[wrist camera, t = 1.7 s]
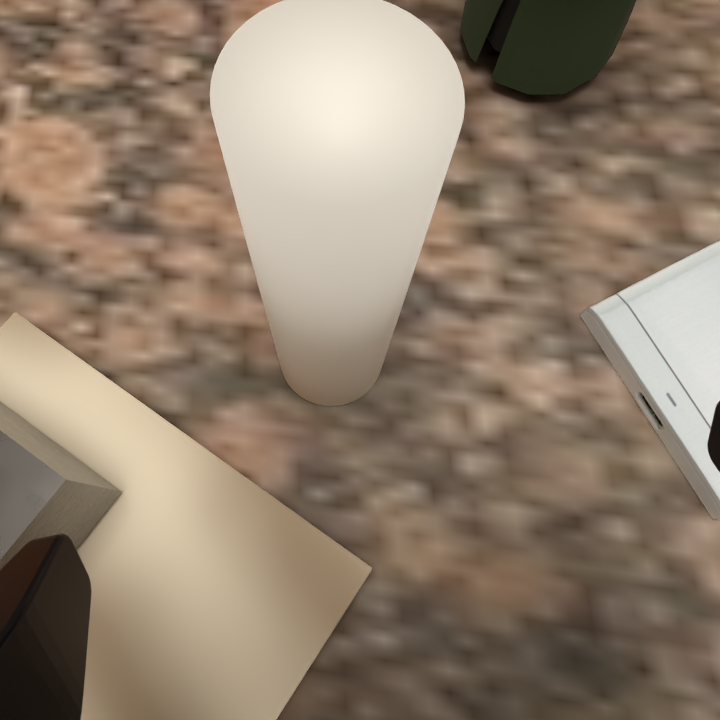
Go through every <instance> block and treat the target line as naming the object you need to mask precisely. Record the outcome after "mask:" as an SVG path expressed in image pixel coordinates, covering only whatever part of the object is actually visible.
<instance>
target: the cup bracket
mask: <svg viewBox="0 0 720 720" xmlns="http://www.w3.org/2000/svg"><path fill="white" fill-rule="evenodd" d="M121 492H122V491H120V490H119V489H118V488H116V487H115V486H114V485H112V484H111V483H110V482H108V481H107V480H105V479H104V478H103V477H101V476H100V475H99V474H97V473H96V472H95V471H93V470H92V469H91V468H89V467H88V466H87V465H85V464H84V463H83V462H81V461H80V460H79V459H77V458H76V457H74V456H73V455H72V454H70V453H69V452H68V451H66V450H65V449H64V448H62V447H61V446H60V445H58V444H57V443H56V442H54V441H53V440H52V439H50V438H49V437H48V436H46V435H45V434H43V433H42V432H41V431H39V430H38V429H37V428H35V427H34V426H33V425H31V424H30V423H29V422H27V421H26V420H25V419H23V418H22V417H21V416H19V415H18V414H17V413H15V412H14V411H12V410H11V409H10V408H8V407H7V406H6V405H4V404H3V403H2V402H0V569H1V568H2V567H3V566H4V565H5V564H6V563H7V562H8V561H9V560H10V559H11V558H12V557H13V556H14V555H15V554H16V553H17V552H18V551H19V550H20V549H21V548H22V547H23V546H24V545H25V544H27V543H28V542H29V541H30V540H32V539H35V538H38V537H43V536H48V535H53V534H58V533H64V534H67V535H68V536H69V537H70V538H71V540H72V541H73V544H74V546H75V548H76V549H77V548H78V546H79V545H80V544H81V543H82V541H83V540H84V539H85V537H86V536H87V535H88V534H89V532H90V531H91V530H92V529H93V527H94V526H95V525H96V524H97V522H98V521H99V520H100V518H101V517H102V516H103V515H104V513H105V512H106V511H107V510H108V508H109V507H110V506H111V505H112V503H113V502H114V501H115V500H116V498H117V497H118V496H119V494H120V493H121Z"/></svg>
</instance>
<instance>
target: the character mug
mask: <svg viewBox="0 0 720 720" xmlns="http://www.w3.org/2000/svg"><path fill="white" fill-rule="evenodd" d="M635 2H636V0H466V2H465V7H464V13H463V19H462V25H461V34H462V37H463V40H464V42H465V45H466V48H467V51H468V54H469V57H470V58H471V59H472V60H474V61H475V62H476V61H477V59H478V56H479V54H480V52H481V49H482V47H483V44H484V42H485V40H486V37H487V38H488V39H489V41H490V43H491V44H492V46H493V48H494V49H495V50H497V51H498V52H500V55H499V58H498V61H497V63H496V66H495V69H494V71H493V74H492V78H493V79H494V80H495V81H496V82H497V83H498V84H501V85H504V86H507V87H509V88H512V89H515V90H517V91H520V92H523V93H526V94H528V95H542V94H565V93H567V92H569V91H571V90H572V89H574V88H576V87H578V86H580V85H581V84H583V83H585V82H587V81H589V80H590V79H592V78H594V77H596V75H597V74H598V73H599V71H600V70H601V69H602V67H603V66H604V65H605V63H606V62H607V61H608V59H609V58H610V57H611V55H612V54H613V52H614V50H615V48H616V45H617V43H618V41H619V39H620V37H621V35H622V32H623V30H624V28H625V26H626V24H627V21H628V19H629V17H630V15H631V12H632V10H633V7H634V5H635Z"/></svg>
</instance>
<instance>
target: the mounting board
mask: <svg viewBox="0 0 720 720" xmlns="http://www.w3.org/2000/svg"><path fill="white" fill-rule="evenodd" d="M0 402H2V403H3V404H4V405H6V406H7V407H8V408H10V409H11V410H12V411H14V412H15V413H17V414H18V415H19V416H21V417H22V418H23V419H25V420H26V421H27V422H29V423H30V424H31V425H33V426H34V427H35V428H37V429H38V430H39V431H41V432H42V433H43V434H45V435H46V436H48V437H49V438H50V439H52V440H53V441H54V442H56V443H57V444H58V445H60V446H61V447H62V448H64V449H65V450H66V451H68V452H69V453H70V454H72V455H73V456H74V457H76V458H77V459H79V460H80V461H81V462H83V463H84V464H85V465H87V466H88V467H89V468H91V469H92V470H93V471H95V472H96V473H97V474H99V475H100V476H101V477H103V478H104V479H105V480H107V481H108V482H110V483H111V484H112V485H114V486H115V487H116V488H118V489H119V490H120V491H122V492H121V493H120V494H119V496H118V497H117V498H116V500H115V501H114V502H113V503H112V505H111V506H110V507H109V508H108V510H107V511H106V512H105V513H104V515H103V516H102V517H101V518H100V520H99V521H98V522H97V524H96V525H95V526H94V527H93V529H92V530H91V531H90V532H89V534H88V535H87V536H86V537H85V539H84V540H83V541H82V543H81V544H80V545H79V546H78V548H77V549H76V550H77V552H78V554H79V556H80V558H81V560H82V562H83V564H84V567H85V569H86V571H87V573H88V575H89V578H90V582H91V591H92V594H91V608H90V621H89V633H88V646H87V658H86V671H85V684H84V696H83V705H82V714H81V720H276V719H277V718H278V716H279V715H280V713H281V711H282V710H283V708H284V707H285V705H286V704H287V702H288V700H289V699H290V697H291V696H292V694H293V693H294V691H295V689H296V688H297V686H298V685H299V683H300V682H301V680H302V678H303V677H304V675H305V674H306V672H307V671H308V669H309V668H310V666H311V664H312V663H313V661H314V660H315V658H316V657H317V655H318V653H319V652H320V650H321V649H322V647H323V646H324V644H325V642H326V641H327V639H328V638H329V636H330V635H331V633H332V631H333V630H334V628H335V627H336V625H337V624H338V622H339V620H340V619H341V617H342V616H343V614H344V613H345V611H346V609H347V608H348V606H349V605H350V603H351V602H352V600H353V598H354V597H355V595H356V594H357V592H358V591H359V589H360V588H361V586H362V584H363V583H364V581H365V580H366V578H367V577H368V575H369V573H370V572H371V570H372V569H373V568H372V567H370V566H369V565H367V564H366V563H365V562H363V561H362V560H360V559H359V558H358V557H356V556H355V555H353V554H352V553H351V552H349V551H348V550H346V549H345V548H344V547H342V546H341V545H339V544H338V543H337V542H335V541H334V540H332V539H331V538H330V537H328V536H327V535H325V534H324V533H323V532H321V531H320V530H319V529H317V528H316V527H314V526H313V525H312V524H310V523H309V522H307V521H306V520H305V519H303V518H302V517H300V516H299V515H298V514H296V513H295V512H293V511H292V510H291V509H289V508H288V507H286V506H285V505H284V504H282V503H281V502H279V501H278V500H277V499H275V498H274V497H272V496H271V495H270V494H268V493H267V492H266V491H264V490H263V489H261V488H260V487H259V486H257V485H256V484H254V483H253V482H252V481H250V480H249V479H247V478H246V477H245V476H243V475H242V474H240V473H239V472H238V471H236V470H235V469H233V468H232V467H231V466H229V465H228V464H226V463H225V462H224V461H222V460H221V459H219V458H218V457H217V456H215V455H214V454H213V453H211V452H210V451H208V450H207V449H206V448H204V447H203V446H201V445H200V444H199V443H197V442H196V441H194V440H193V439H192V438H190V437H189V436H187V435H186V434H185V433H183V432H182V431H180V430H179V429H178V428H176V427H175V426H173V425H172V424H171V423H169V422H168V421H166V420H165V419H164V418H162V417H161V416H160V415H158V414H157V413H155V412H154V411H153V410H151V409H150V408H148V407H147V406H146V405H144V404H143V403H141V402H140V401H139V400H137V399H136V398H134V397H133V396H132V395H130V394H129V393H127V392H126V391H125V390H123V389H122V388H120V387H119V386H118V385H116V384H115V383H113V382H112V381H111V380H109V379H108V378H106V377H105V376H104V375H102V374H101V373H100V372H98V371H97V370H95V369H94V368H93V367H91V366H90V365H88V364H87V363H86V362H84V361H83V360H81V359H80V358H79V357H77V356H76V355H74V354H73V353H72V352H70V351H69V350H67V349H66V348H65V347H63V346H62V345H60V344H59V343H58V342H56V341H55V340H53V339H52V338H51V337H49V336H48V335H47V334H45V333H44V332H42V331H41V330H40V329H38V328H37V327H35V326H34V325H33V324H31V323H30V322H28V321H27V320H26V319H24V318H23V317H21V316H20V315H19V314H17V313H16V312H15V313H14V314H13V315H12V316H11V317H10V318H9V319H8V320H7V321H6V322H5V323H4V325H3V326H2V327H1V328H0Z"/></svg>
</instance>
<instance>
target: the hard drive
mask: <svg viewBox="0 0 720 720" xmlns="http://www.w3.org/2000/svg"><path fill="white" fill-rule="evenodd" d="M580 316H581V318H582V319H583V321H584V322H585V324H586V325H587V327H588V328H589V330H590V331H591V333H592V334H593V336H594V337H595V339H596V341H597V342H598V344H599V345H600V347H601V348H602V350H603V351H604V353H605V354H606V356H607V357H608V359H609V360H610V362H611V364H612V365H613V367H614V368H615V370H616V371H617V373H618V374H619V376H620V377H621V379H622V380H623V382H624V384H625V385H626V387H627V388H628V390H629V391H630V393H631V394H632V396H633V397H634V399H635V400H636V402H637V404H638V405H639V407H640V408H641V410H642V411H643V413H644V414H645V416H646V417H647V419H648V420H649V422H650V424H651V425H652V427H653V428H654V430H655V431H656V433H657V434H658V436H659V437H660V439H661V440H662V442H663V443H664V445H665V446H666V448H667V450H668V451H669V453H670V454H671V456H672V457H673V459H674V460H675V462H676V463H677V465H678V466H679V468H680V469H681V471H682V472H683V474H684V476H685V477H686V479H687V480H688V482H689V483H690V485H691V486H692V488H693V489H694V491H695V492H696V494H697V496H698V497H699V499H700V500H701V502H702V503H703V505H704V506H705V508H706V510H707V511H708V513H709V514H710V516H711V517H712V519H720V472H719V471H718V470H717V468H716V467H715V465H714V464H713V462H712V460H711V458H710V456H709V453H708V448H707V443H708V438H709V433H710V429H711V425H712V420H713V416H714V412H715V408H716V405H717V403H718V402H719V401H720V240H719V241H717V242H715V243H713V244H711V245H709V246H707V247H705V248H703V249H701V250H700V251H697V252H695V253H693V254H691V255H690V256H688V257H686V258H684V259H682V260H680V261H678V262H676V263H674V264H672V265H670V266H668V267H666V268H664V269H662V270H660V271H659V272H657V273H655V274H653V275H651V276H649V277H647V278H645V279H643V280H641V281H639V282H637V283H635V284H633V285H631V286H630V287H628V288H626V289H624V290H622V291H620V292H618V293H617V294H615V295H613V296H611V297H609V298H607V299H605V300H603V301H601V302H599V303H597V304H595V305H594V306H591V307H590V308H588V309H587V310H586V311H584V312H583V313H582V314H581V315H580Z"/></svg>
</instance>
